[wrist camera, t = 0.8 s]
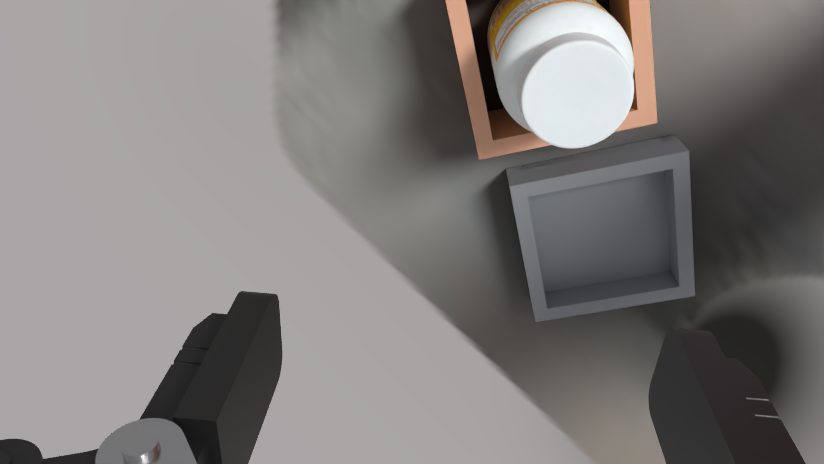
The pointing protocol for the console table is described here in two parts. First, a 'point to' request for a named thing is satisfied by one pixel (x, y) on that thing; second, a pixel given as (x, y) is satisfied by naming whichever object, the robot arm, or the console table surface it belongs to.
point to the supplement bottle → (562, 69)
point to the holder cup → (498, 127)
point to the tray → (606, 228)
